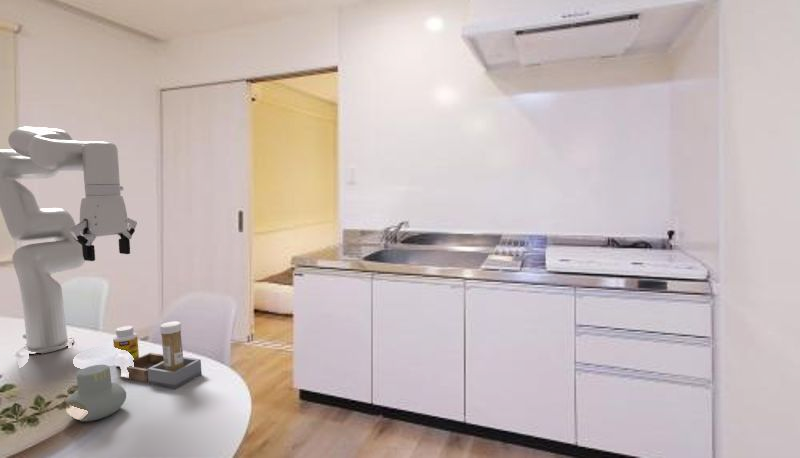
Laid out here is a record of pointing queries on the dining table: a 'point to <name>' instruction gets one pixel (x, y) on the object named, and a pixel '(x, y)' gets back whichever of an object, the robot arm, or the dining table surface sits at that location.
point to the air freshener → (97, 393)
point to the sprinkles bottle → (172, 345)
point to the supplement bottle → (127, 340)
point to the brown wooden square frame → (140, 363)
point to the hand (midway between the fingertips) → (107, 256)
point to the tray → (174, 374)
